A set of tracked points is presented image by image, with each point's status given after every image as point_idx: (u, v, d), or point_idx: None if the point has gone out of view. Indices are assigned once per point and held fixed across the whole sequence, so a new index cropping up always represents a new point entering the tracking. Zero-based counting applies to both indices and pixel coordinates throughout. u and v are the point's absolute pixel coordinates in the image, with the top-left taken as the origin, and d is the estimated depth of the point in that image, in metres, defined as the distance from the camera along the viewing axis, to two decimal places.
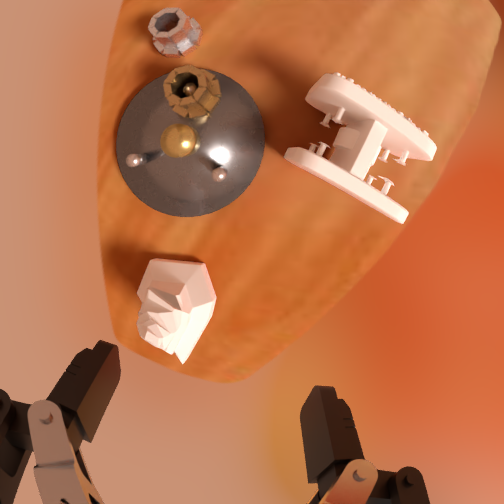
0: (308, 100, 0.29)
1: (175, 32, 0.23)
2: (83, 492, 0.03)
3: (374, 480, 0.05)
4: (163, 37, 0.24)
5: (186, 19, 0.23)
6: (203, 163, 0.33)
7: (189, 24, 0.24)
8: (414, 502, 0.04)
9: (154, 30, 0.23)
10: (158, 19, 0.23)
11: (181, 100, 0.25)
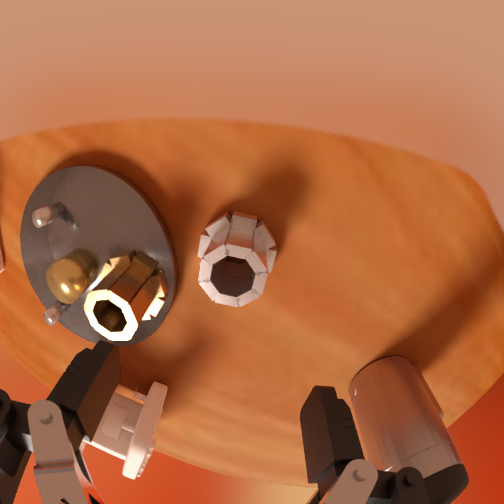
0: (150, 389, 0.28)
1: (207, 291, 0.20)
2: (83, 492, 0.03)
3: (374, 480, 0.05)
4: None
5: None
6: None
7: None
8: (414, 502, 0.04)
9: (217, 256, 0.19)
10: None
11: (90, 311, 0.19)
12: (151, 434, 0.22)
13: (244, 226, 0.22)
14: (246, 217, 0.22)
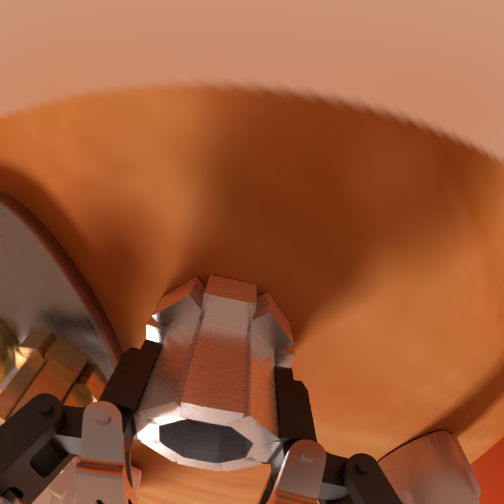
0: None
1: (159, 451, 0.08)
2: (124, 498, 0.04)
3: (321, 463, 0.06)
4: None
5: None
6: None
7: None
8: (374, 490, 0.05)
9: (165, 417, 0.07)
10: None
11: None
12: None
13: (229, 315, 0.10)
14: (233, 297, 0.10)
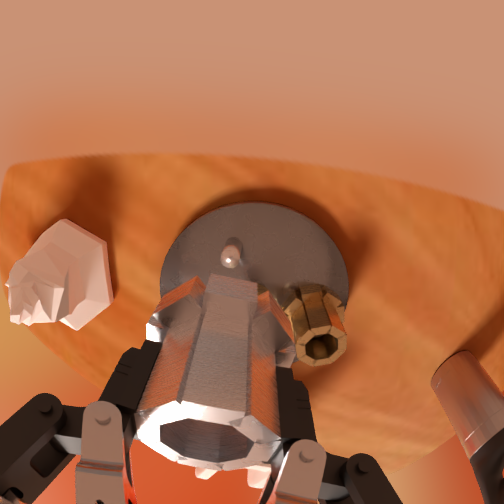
0: None
1: (159, 451, 0.08)
2: (124, 498, 0.04)
3: (321, 463, 0.06)
4: None
5: None
6: None
7: None
8: (374, 490, 0.05)
9: (165, 416, 0.07)
10: None
11: (302, 345, 0.23)
12: None
13: (230, 314, 0.10)
14: (234, 296, 0.10)
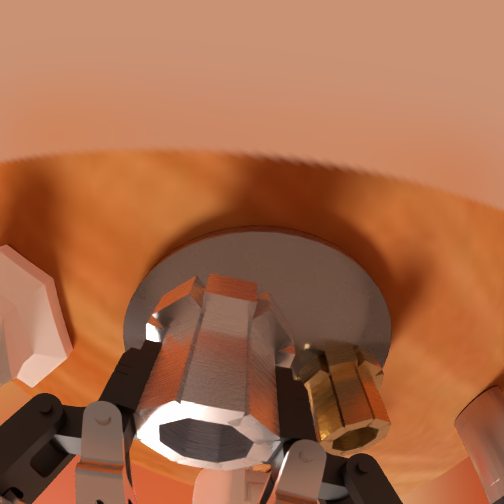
0: None
1: (159, 450, 0.08)
2: (124, 498, 0.04)
3: (321, 463, 0.06)
4: None
5: None
6: None
7: None
8: (374, 490, 0.05)
9: (165, 416, 0.07)
10: None
11: (329, 441, 0.13)
12: None
13: (230, 314, 0.10)
14: (234, 296, 0.10)
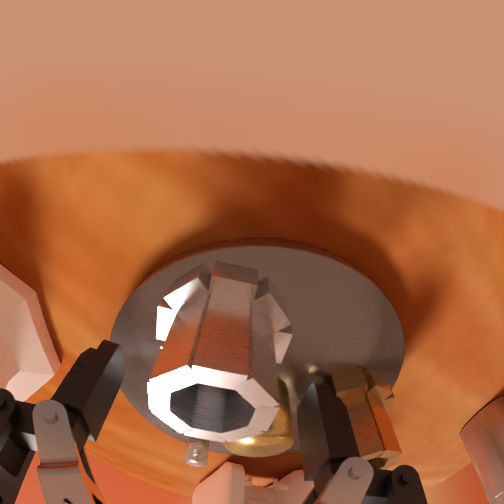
0: (304, 482, 0.21)
1: (168, 422, 0.09)
2: (87, 492, 0.03)
3: (370, 478, 0.06)
4: None
5: None
6: None
7: None
8: (411, 501, 0.04)
9: (176, 383, 0.08)
10: None
11: None
12: None
13: (234, 296, 0.12)
14: (237, 279, 0.12)
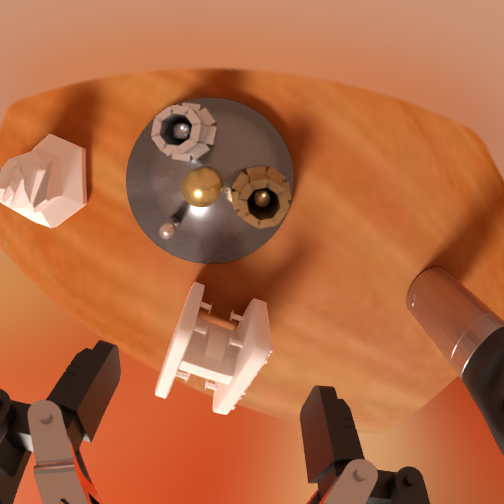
0: (253, 304, 0.35)
1: (157, 143, 0.23)
2: (83, 492, 0.03)
3: (374, 480, 0.05)
4: None
5: (177, 154, 0.24)
6: (181, 203, 0.32)
7: None
8: (414, 502, 0.04)
9: (165, 115, 0.22)
10: None
11: (244, 201, 0.26)
12: (270, 336, 0.30)
13: None
14: None
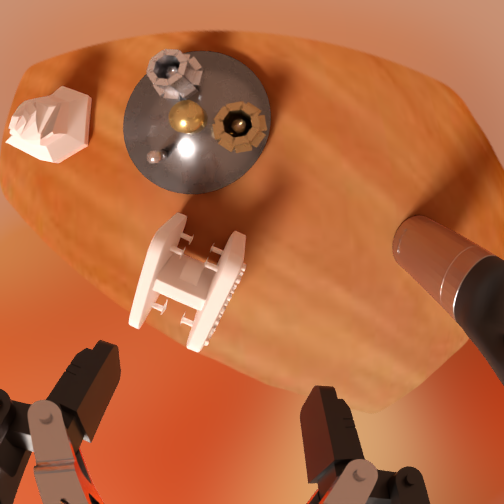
0: (232, 234, 0.36)
1: (150, 78, 0.25)
2: (83, 492, 0.03)
3: (374, 480, 0.05)
4: None
5: (166, 85, 0.25)
6: (170, 138, 0.33)
7: (170, 88, 0.27)
8: (414, 502, 0.04)
9: (158, 56, 0.24)
10: None
11: (220, 121, 0.27)
12: (243, 254, 0.31)
13: None
14: (183, 54, 0.27)
